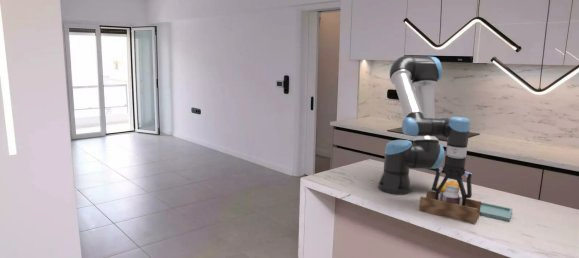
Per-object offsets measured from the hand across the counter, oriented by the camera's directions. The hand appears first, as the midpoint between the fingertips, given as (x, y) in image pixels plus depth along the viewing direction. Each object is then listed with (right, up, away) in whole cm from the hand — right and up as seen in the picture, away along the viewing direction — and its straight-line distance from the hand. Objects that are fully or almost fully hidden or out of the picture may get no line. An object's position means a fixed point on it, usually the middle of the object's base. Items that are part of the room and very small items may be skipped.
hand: (449, 210), depth 164 cm
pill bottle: (0, -1, 0) cm, 1 cm away
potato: (+6, +2, +19) cm, 20 cm away
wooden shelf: (0, -1, 0) cm, 1 cm away
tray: (+19, -2, +2) cm, 19 cm away
